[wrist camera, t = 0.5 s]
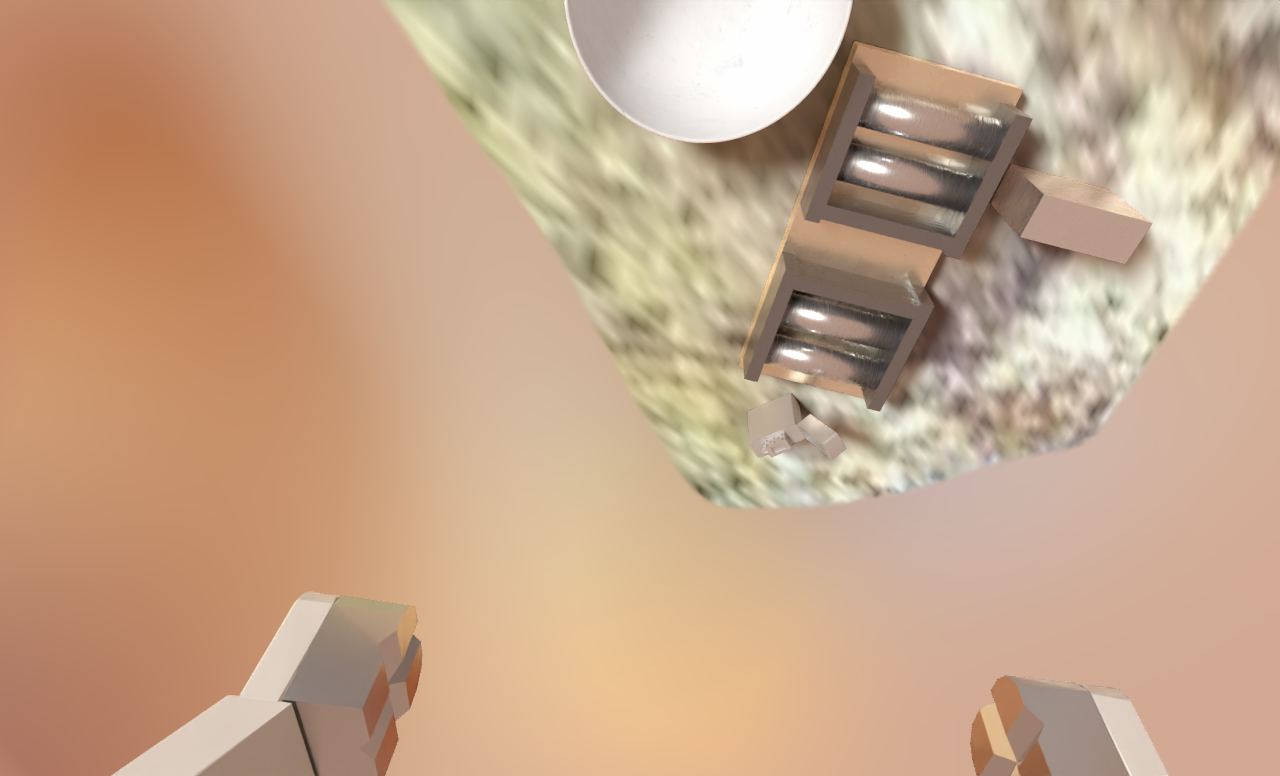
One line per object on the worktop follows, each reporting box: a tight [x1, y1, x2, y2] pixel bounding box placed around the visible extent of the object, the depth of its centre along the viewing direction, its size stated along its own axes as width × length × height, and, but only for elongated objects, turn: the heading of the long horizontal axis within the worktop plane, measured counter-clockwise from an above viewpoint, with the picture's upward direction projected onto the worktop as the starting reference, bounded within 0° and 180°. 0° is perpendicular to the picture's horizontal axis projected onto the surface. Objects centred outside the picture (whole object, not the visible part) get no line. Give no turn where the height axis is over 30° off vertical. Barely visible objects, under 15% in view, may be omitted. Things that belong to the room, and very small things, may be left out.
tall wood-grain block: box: [991, 164, 1152, 264], centre depth 48 cm, size 3×7×6 cm, turn 77°
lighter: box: [747, 393, 846, 459], centre depth 58 cm, size 7×2×8 cm, turn 123°
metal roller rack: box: [739, 41, 1032, 411], centre depth 51 cm, size 24×11×4 cm, turn 167°
